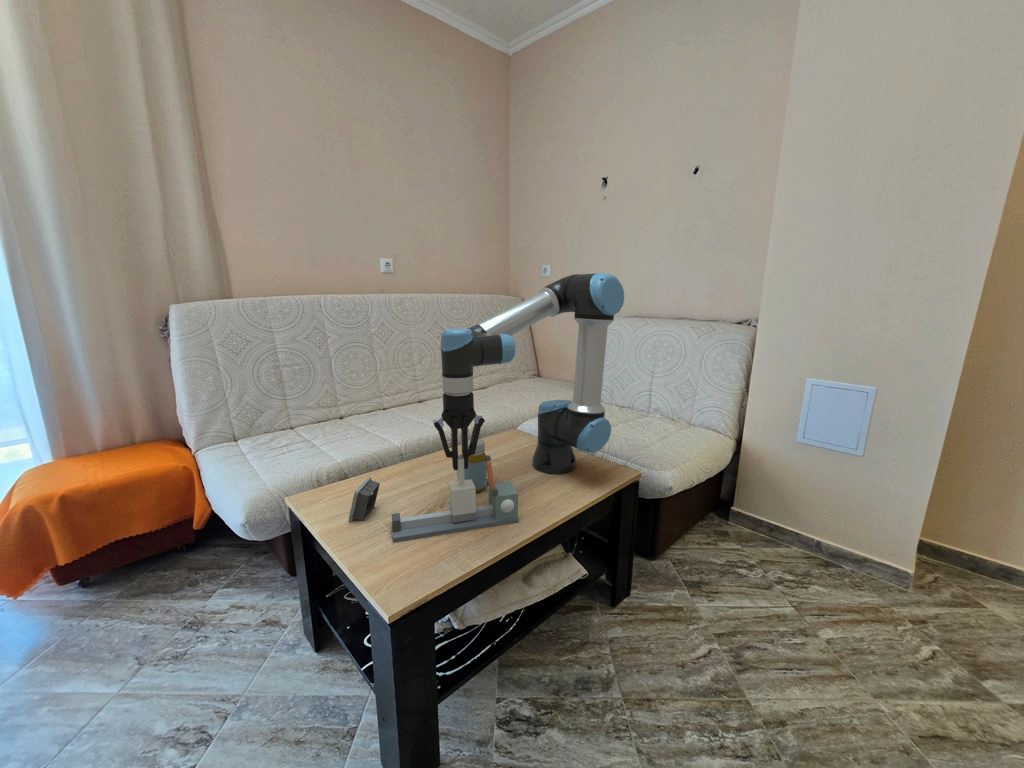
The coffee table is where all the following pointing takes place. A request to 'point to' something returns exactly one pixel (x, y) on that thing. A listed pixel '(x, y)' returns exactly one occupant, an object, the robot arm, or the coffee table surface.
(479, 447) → the bottle
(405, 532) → the rail bench
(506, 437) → the coffee table surface
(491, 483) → the lever
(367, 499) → the electrical switch
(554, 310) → the robot arm
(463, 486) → the carriage
